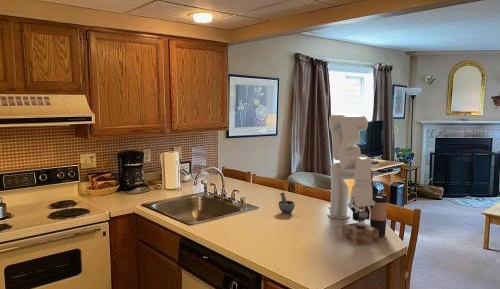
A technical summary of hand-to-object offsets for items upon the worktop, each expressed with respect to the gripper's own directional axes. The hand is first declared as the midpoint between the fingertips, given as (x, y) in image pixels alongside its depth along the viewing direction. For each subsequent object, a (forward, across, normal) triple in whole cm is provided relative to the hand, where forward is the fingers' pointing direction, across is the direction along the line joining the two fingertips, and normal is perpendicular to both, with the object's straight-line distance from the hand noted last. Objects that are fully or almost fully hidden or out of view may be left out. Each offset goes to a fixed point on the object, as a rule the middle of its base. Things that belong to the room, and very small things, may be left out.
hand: (361, 219), depth 174 cm
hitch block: (+10, 0, 0) cm, 10 cm away
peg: (+5, 0, 0) cm, 5 cm away
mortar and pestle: (+10, +15, -50) cm, 53 cm away
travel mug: (+10, -12, -2) cm, 16 cm away
